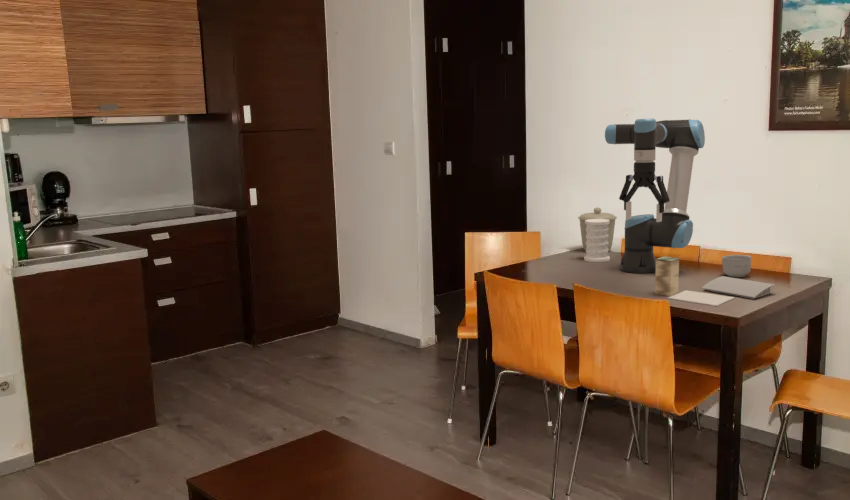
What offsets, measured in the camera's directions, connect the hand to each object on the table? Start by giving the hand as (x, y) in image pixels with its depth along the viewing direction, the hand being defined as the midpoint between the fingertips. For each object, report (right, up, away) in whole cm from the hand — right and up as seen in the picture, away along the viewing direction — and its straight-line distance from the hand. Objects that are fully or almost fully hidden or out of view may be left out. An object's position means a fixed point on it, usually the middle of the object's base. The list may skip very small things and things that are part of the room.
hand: (643, 220), depth 277 cm
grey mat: (+17, -28, -11) cm, 35 cm away
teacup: (+45, -21, +22) cm, 54 cm away
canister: (+2, -12, +85) cm, 86 cm away
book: (+34, -27, -4) cm, 43 cm away
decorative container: (-3, -16, +64) cm, 66 cm away
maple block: (+8, -27, -2) cm, 28 cm away
